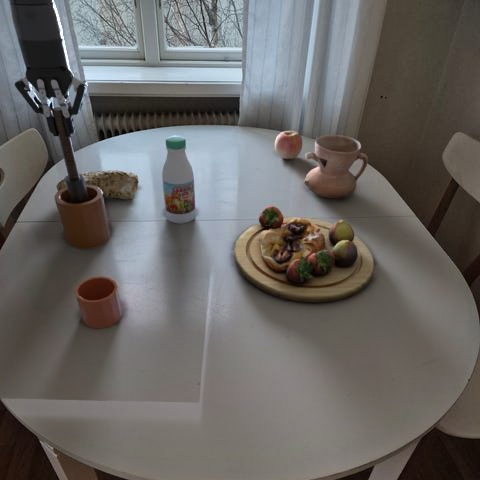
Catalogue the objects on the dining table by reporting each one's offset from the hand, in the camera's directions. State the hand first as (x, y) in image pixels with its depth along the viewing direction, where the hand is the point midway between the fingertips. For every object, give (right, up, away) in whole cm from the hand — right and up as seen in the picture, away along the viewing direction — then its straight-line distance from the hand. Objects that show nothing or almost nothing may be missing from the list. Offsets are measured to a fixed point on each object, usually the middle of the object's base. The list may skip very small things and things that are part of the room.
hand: (64, 134), depth 87 cm
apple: (+51, +17, +56) cm, 78 cm away
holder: (+9, -37, -4) cm, 38 cm away
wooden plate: (+50, -24, +13) cm, 57 cm away
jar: (-1, -18, +17) cm, 24 cm away
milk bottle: (+20, -11, +25) cm, 34 cm away
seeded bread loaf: (-3, -4, +31) cm, 32 cm away
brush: (-1, -10, +10) cm, 14 cm away
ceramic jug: (+62, 0, +38) cm, 73 cm away
